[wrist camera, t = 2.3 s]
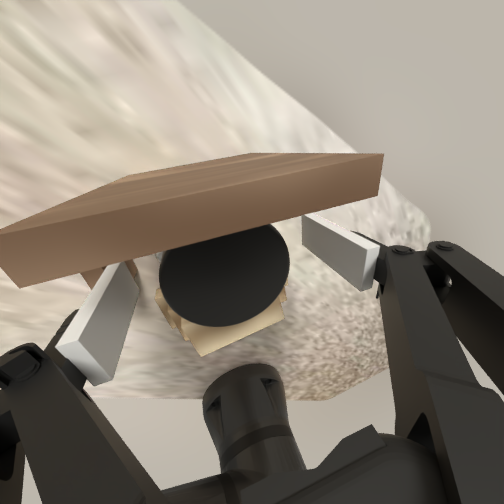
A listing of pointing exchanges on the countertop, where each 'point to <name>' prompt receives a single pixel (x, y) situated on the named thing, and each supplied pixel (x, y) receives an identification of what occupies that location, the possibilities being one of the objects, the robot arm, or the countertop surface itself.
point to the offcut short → (230, 330)
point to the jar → (225, 276)
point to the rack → (180, 210)
